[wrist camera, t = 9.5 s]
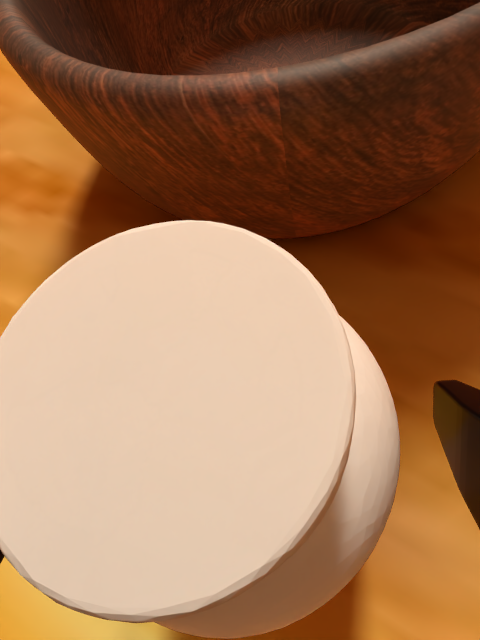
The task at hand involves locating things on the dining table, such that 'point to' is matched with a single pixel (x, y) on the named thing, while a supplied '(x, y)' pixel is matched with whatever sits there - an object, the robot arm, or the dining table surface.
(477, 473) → the robot arm
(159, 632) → the dining table surface
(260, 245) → the supplement bottle
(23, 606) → the dining table surface
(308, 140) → the wooden bowl
